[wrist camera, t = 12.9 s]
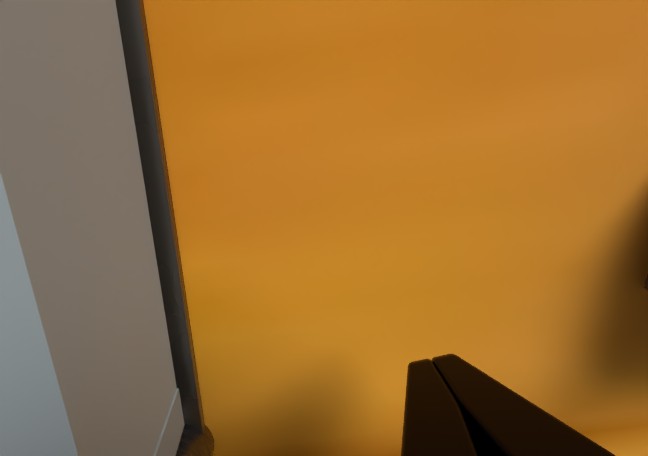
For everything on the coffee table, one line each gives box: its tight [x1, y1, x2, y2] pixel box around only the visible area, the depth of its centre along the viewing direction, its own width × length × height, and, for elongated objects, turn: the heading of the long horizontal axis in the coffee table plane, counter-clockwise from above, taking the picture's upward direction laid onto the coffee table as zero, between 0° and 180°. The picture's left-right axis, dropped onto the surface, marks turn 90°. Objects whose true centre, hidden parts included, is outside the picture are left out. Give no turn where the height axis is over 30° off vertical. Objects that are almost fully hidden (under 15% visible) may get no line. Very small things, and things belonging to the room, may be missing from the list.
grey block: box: [0, 0, 185, 456], centre depth 7 cm, size 12×2×5 cm, turn 1°
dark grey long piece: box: [115, 0, 214, 456], centre depth 7 cm, size 18×4×6 cm, turn 1°
